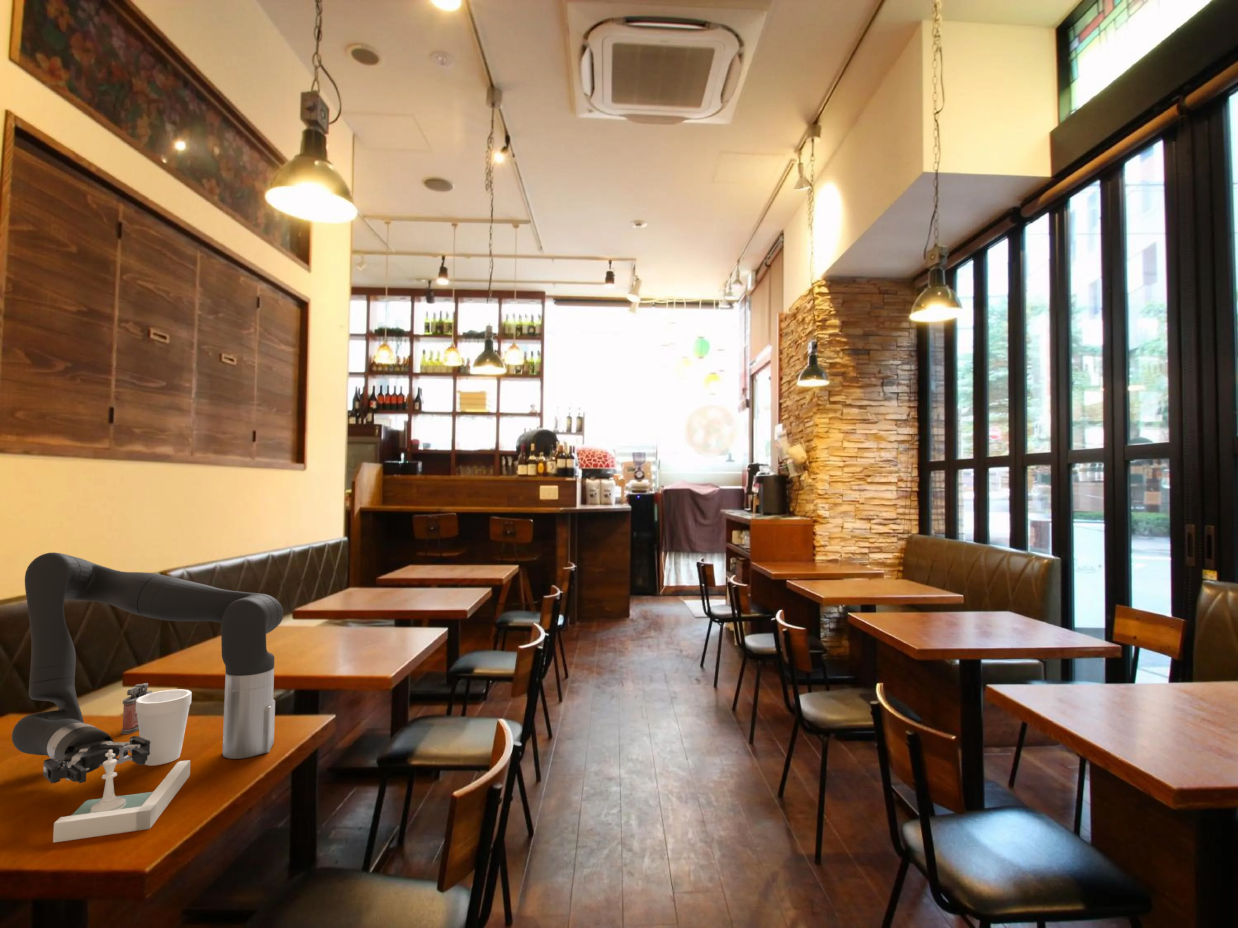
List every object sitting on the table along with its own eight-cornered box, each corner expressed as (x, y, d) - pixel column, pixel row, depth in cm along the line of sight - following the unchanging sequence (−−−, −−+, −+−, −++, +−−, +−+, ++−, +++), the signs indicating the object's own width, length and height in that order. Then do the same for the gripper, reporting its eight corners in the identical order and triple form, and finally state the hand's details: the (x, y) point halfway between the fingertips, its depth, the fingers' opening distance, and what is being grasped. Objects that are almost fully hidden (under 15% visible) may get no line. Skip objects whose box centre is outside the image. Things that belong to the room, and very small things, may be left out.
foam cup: (141, 753, 134) (144, 692, 135) (193, 747, 138) (195, 687, 138) (127, 771, 125) (130, 705, 126) (182, 764, 129) (185, 699, 130)
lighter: (140, 721, 153) (142, 680, 154) (155, 721, 153) (156, 679, 154) (117, 734, 145) (119, 690, 146) (132, 733, 145) (134, 689, 146)
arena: (189, 775, 124) (190, 759, 124) (150, 828, 104) (150, 809, 104) (103, 785, 119) (104, 769, 119) (45, 843, 99) (46, 824, 100)
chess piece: (104, 816, 107) (107, 756, 107) (82, 813, 108) (84, 754, 108) (133, 802, 112) (135, 745, 112) (111, 799, 113) (113, 743, 113)
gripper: (30, 738, 112) (63, 759, 103) (125, 715, 124) (162, 732, 115) (28, 781, 112) (60, 806, 103) (124, 754, 124) (161, 774, 115)
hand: (114, 767), depth 109 cm, fingers open, 8 cm apart
